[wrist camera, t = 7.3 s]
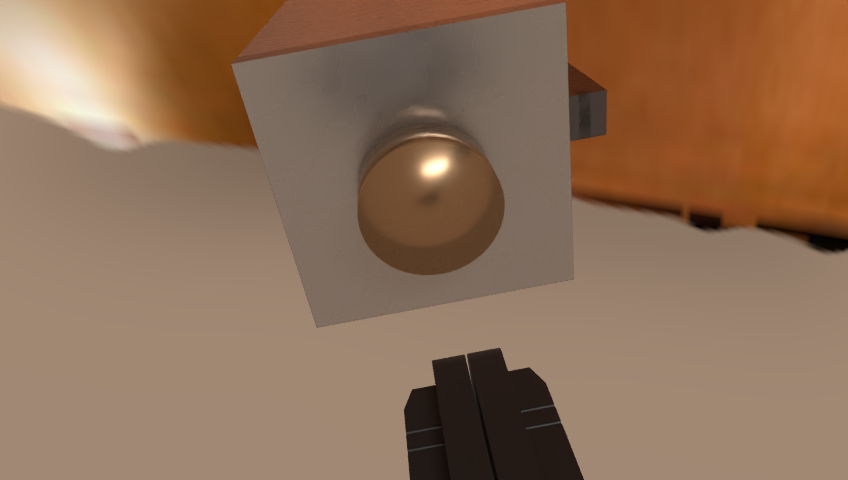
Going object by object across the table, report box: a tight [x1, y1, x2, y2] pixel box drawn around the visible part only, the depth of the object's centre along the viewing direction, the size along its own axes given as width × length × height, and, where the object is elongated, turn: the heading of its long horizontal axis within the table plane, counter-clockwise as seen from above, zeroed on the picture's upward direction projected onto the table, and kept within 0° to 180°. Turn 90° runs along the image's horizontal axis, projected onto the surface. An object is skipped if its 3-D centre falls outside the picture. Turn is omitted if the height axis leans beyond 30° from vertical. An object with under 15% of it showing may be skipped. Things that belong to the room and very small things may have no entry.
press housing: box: [231, 0, 606, 328], centre depth 30 cm, size 14×11×20 cm
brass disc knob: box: [357, 123, 505, 275], centre depth 28 cm, size 8×8×20 cm
